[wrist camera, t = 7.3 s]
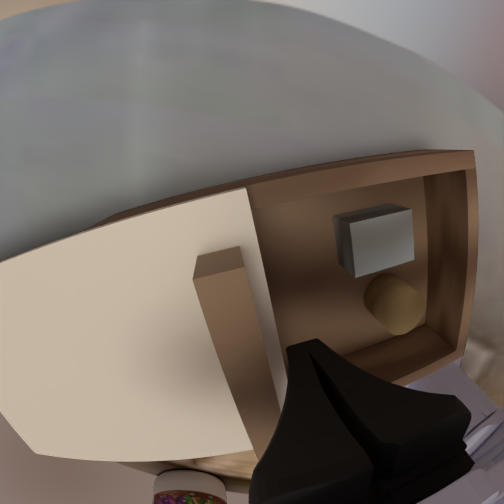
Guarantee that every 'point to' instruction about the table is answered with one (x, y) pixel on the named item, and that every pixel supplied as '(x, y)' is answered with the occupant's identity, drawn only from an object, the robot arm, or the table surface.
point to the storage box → (368, 256)
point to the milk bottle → (188, 488)
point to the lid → (144, 338)
